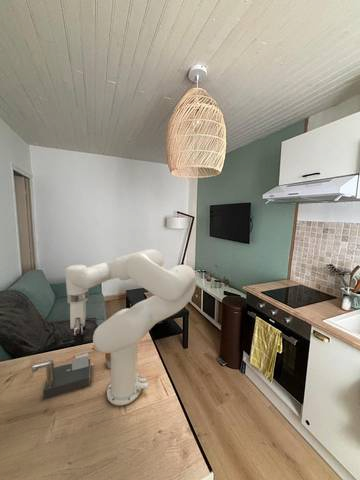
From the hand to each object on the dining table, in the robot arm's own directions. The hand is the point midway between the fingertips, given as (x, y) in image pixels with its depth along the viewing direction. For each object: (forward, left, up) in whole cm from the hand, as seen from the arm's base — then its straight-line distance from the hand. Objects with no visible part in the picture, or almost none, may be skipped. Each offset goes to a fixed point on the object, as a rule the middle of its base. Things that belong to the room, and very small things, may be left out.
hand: (80, 336), depth 79 cm
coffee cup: (-11, -7, -17) cm, 22 cm away
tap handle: (+1, 0, -14) cm, 14 cm away
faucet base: (+4, +2, -17) cm, 18 cm away
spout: (+10, +8, -14) cm, 19 cm away
